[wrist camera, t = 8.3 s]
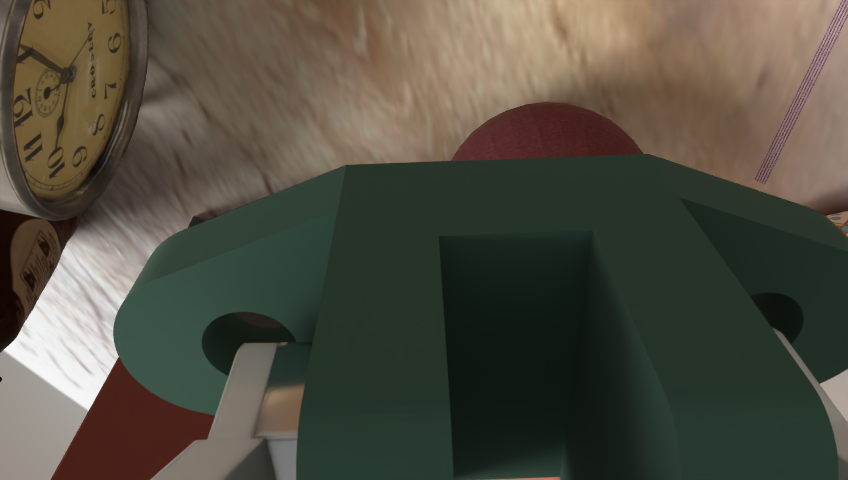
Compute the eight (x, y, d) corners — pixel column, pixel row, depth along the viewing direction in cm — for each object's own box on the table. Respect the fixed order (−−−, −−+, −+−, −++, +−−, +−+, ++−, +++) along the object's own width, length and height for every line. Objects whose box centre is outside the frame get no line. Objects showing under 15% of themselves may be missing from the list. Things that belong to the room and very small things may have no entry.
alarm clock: (156, 136, 32) (-22, 370, 19) (42, 113, 31) (-229, 340, 18) (161, -101, 26) (-92, -6, 13) (21, -137, 26) (-406, -76, 12)
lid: (414, 701, 18) (490, 592, 17) (-20, 611, 15) (40, 468, 14) (374, 405, 32) (415, 333, 31) (139, 321, 28) (177, 237, 27)
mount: (892, 144, 9) (1326, 436, 5) (798, 376, 11) (1027, 702, 7) (103, 173, 9) (-171, 489, 5) (181, 397, 11) (47, 735, 7)
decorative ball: (405, 210, 35) (406, 334, 27) (480, 40, 30) (509, 128, 22) (565, 261, 37) (611, 390, 29) (660, 111, 32) (749, 215, 24)
